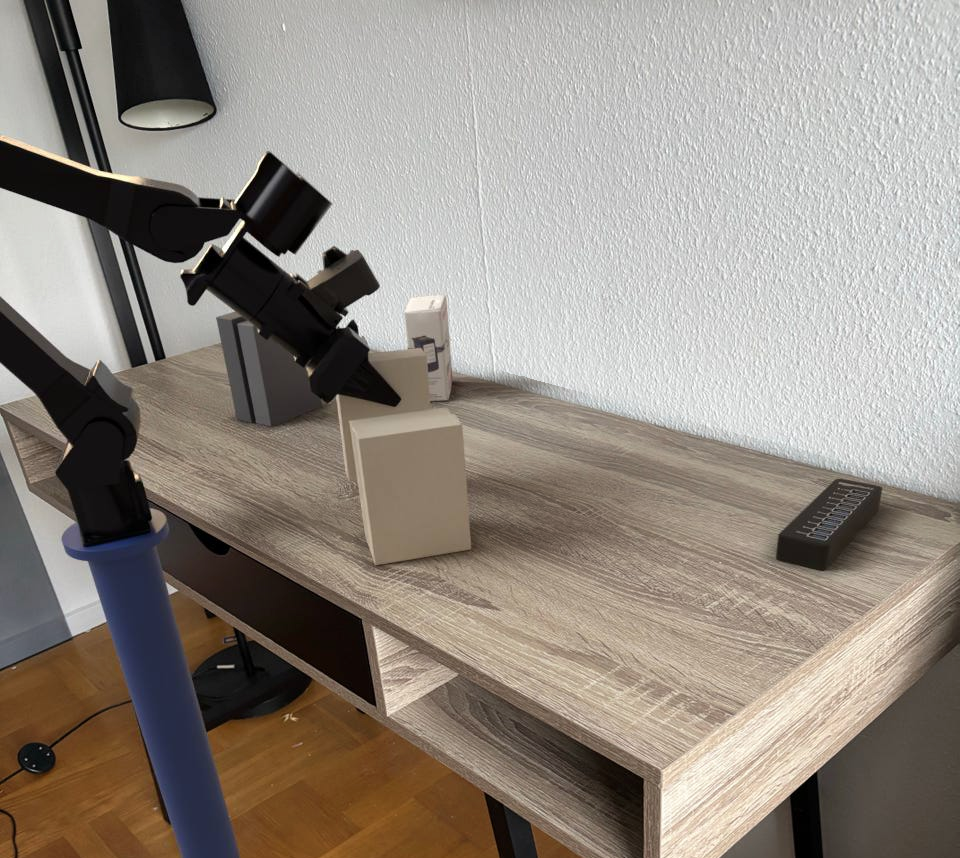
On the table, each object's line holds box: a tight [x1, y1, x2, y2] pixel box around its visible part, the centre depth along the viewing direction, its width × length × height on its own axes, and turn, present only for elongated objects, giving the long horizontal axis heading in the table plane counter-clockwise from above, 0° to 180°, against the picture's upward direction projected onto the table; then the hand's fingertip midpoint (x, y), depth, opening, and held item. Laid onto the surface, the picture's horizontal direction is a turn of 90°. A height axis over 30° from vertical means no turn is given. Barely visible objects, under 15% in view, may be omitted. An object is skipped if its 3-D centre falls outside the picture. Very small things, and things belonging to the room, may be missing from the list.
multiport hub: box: [775, 478, 883, 571], centre depth 85 cm, size 4×14×2 cm, turn 143°
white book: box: [335, 348, 431, 483], centre depth 96 cm, size 9×3×12 cm, turn 104°
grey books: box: [216, 311, 324, 427], centre depth 121 cm, size 10×6×13 cm
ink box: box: [403, 294, 454, 402], centre depth 125 cm, size 8×5×12 cm, turn 178°
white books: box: [349, 406, 472, 566], centre depth 86 cm, size 9×6×12 cm
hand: (395, 397), depth 95 cm, fingers closed on white book, 3 cm apart
